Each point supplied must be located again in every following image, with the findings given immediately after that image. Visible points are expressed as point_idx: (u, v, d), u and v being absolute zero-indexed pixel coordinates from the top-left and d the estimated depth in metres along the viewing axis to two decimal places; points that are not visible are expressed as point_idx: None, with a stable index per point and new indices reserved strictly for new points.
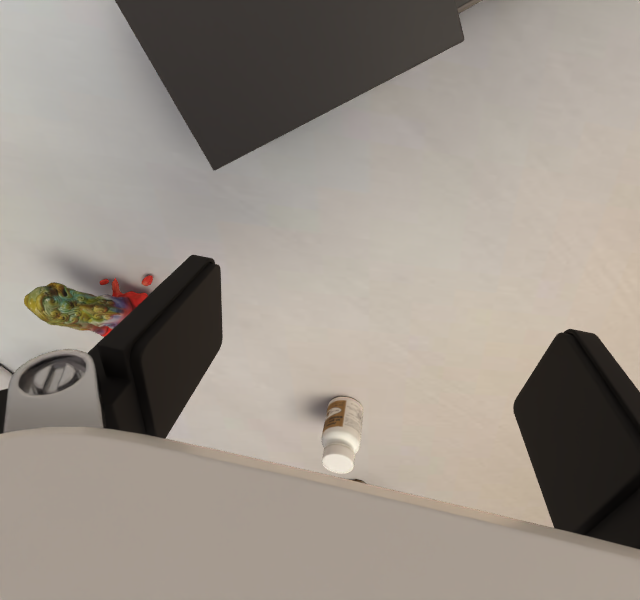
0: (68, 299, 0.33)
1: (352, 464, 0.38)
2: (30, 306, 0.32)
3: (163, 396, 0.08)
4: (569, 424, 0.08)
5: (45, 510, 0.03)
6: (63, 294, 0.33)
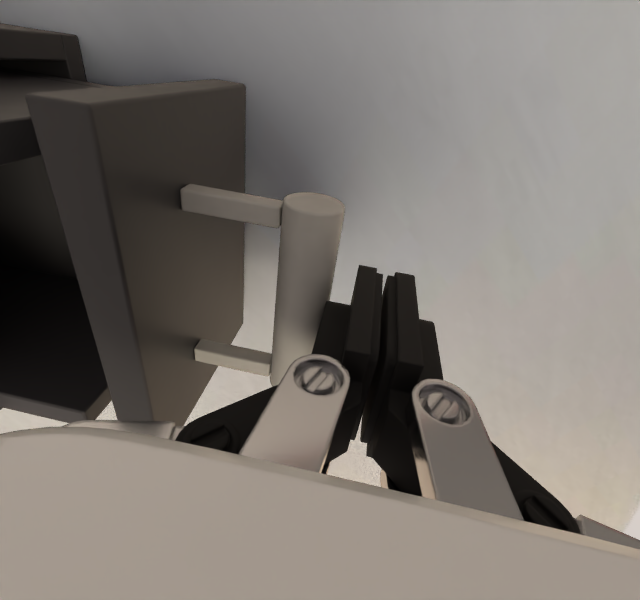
0: None
1: None
2: None
3: None
4: None
5: (45, 510, 0.03)
6: None
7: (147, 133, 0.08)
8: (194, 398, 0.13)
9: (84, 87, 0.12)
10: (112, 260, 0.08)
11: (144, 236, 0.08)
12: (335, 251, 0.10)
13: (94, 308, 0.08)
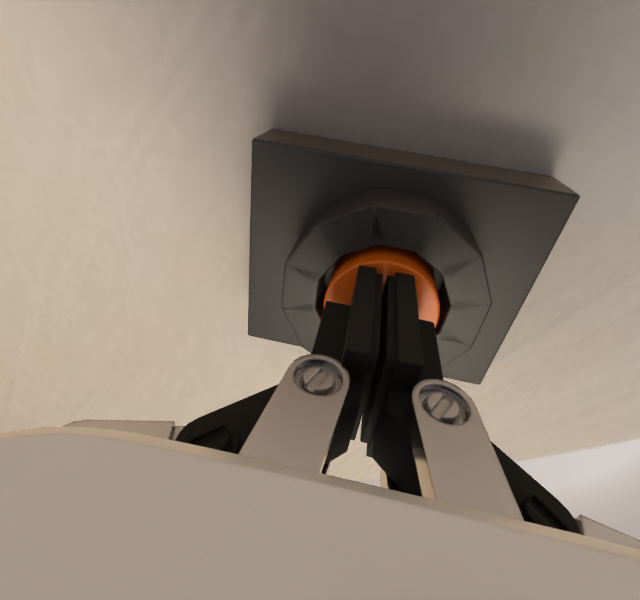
0: None
1: None
2: None
3: None
4: None
5: (45, 510, 0.03)
6: None
7: None
8: None
9: None
10: None
11: None
12: None
13: None
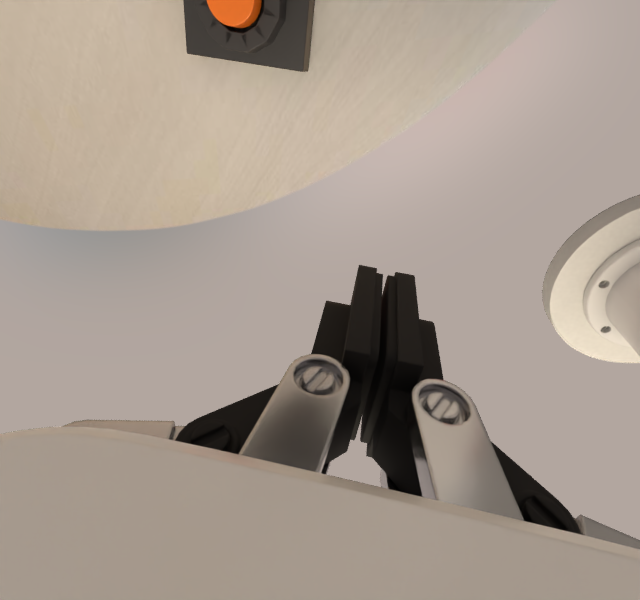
0: None
1: None
2: None
3: None
4: None
5: (45, 510, 0.03)
6: None
7: None
8: None
9: None
10: None
11: None
12: None
13: None
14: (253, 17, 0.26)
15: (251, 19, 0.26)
